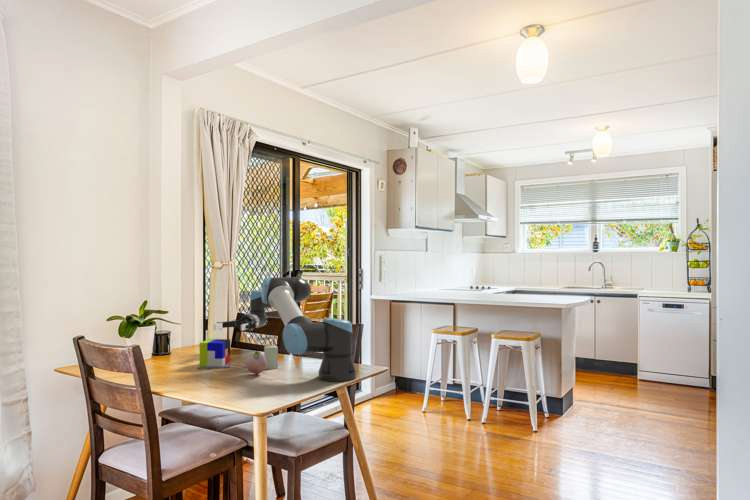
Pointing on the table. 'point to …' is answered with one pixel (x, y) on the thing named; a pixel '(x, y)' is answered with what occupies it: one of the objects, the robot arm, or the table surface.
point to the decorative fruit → (256, 362)
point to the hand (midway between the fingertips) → (227, 327)
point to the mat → (215, 366)
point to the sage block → (271, 356)
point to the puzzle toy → (215, 352)
